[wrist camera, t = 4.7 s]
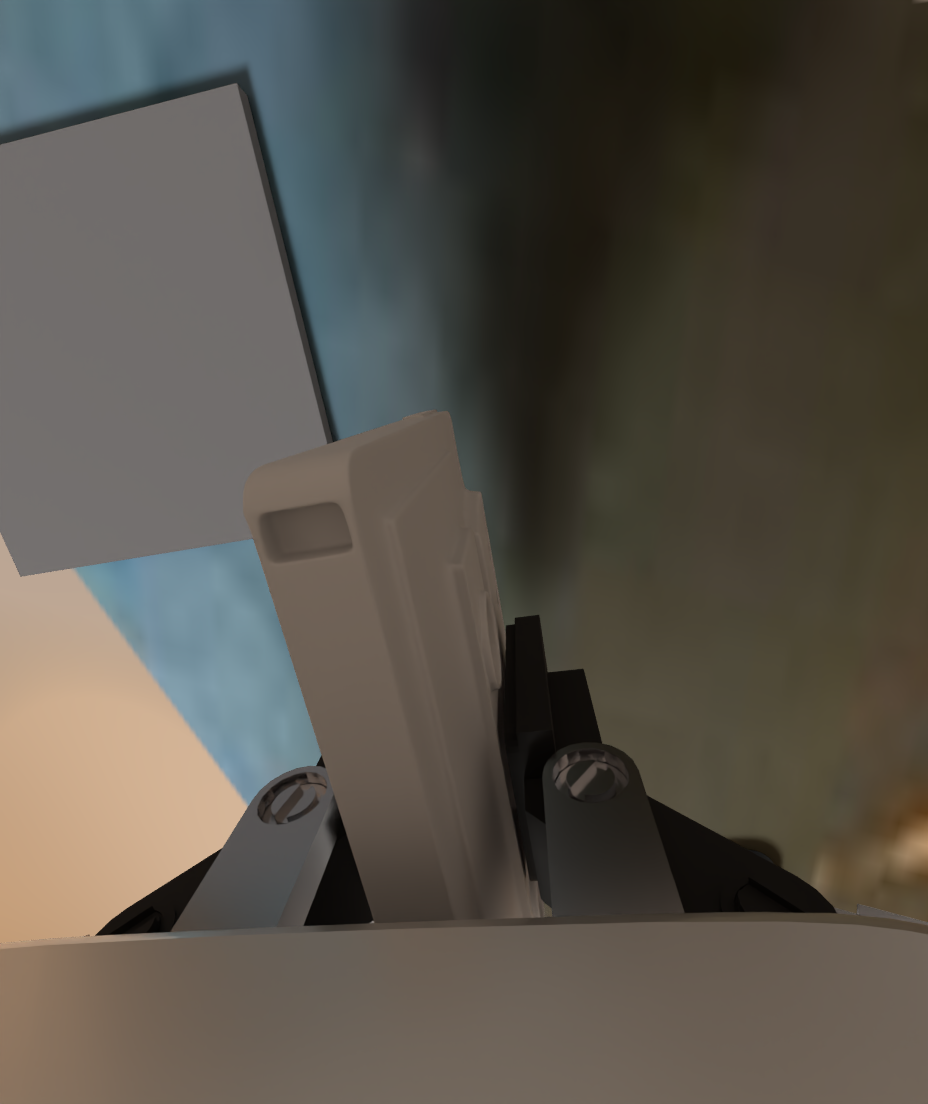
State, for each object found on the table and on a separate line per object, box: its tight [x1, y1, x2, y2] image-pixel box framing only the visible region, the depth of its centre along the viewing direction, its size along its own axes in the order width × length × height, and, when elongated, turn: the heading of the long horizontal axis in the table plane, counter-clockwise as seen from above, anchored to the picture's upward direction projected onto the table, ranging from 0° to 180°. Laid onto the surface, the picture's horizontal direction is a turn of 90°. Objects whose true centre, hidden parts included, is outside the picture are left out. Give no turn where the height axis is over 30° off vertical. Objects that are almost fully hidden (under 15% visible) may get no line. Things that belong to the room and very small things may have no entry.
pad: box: [0, 83, 333, 576], centre depth 16 cm, size 12×12×1 cm
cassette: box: [243, 410, 545, 923], centre depth 9 cm, size 12×2×8 cm, turn 10°
